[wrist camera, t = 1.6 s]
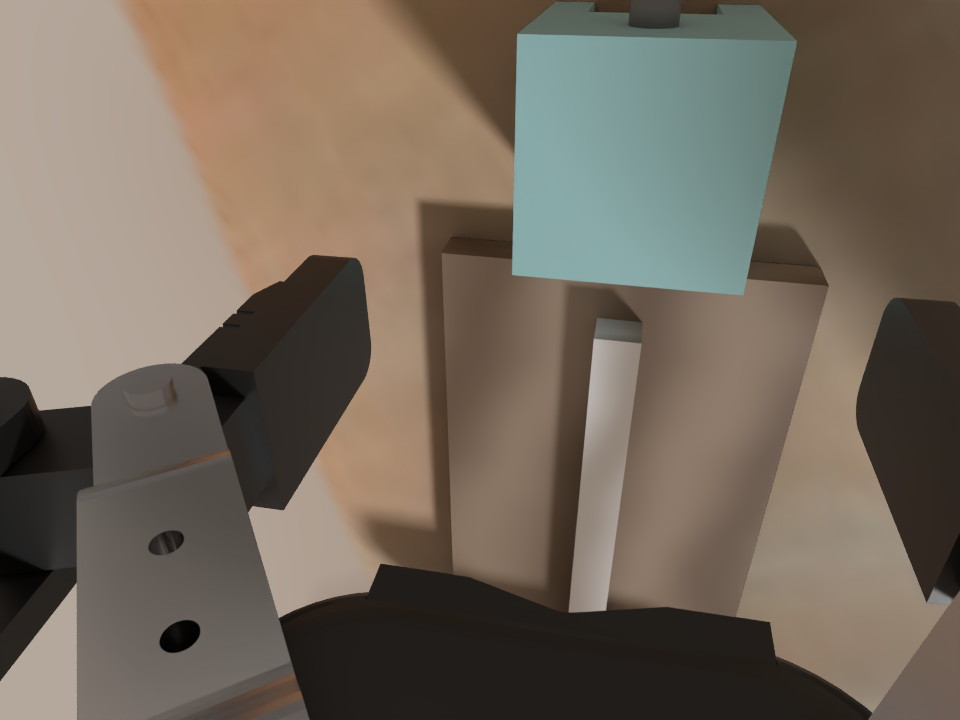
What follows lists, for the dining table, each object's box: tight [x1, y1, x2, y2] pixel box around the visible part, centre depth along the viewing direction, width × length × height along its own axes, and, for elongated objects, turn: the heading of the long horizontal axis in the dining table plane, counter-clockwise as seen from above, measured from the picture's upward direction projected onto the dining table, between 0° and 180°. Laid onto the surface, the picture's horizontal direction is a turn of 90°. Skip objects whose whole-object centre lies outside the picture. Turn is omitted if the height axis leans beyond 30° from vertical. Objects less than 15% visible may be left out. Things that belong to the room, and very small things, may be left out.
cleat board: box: [441, 237, 829, 617], centre depth 29 cm, size 13×22×6 cm, turn 0°
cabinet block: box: [512, 0, 797, 296], centre depth 20 cm, size 6×7×7 cm
